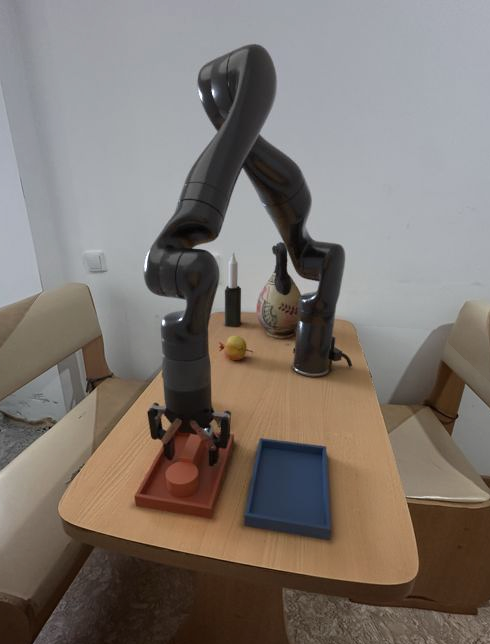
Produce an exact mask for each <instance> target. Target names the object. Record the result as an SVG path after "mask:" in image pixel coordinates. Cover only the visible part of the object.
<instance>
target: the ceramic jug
mask: <svg viewBox="0 0 490 644" xmlns="http://www.w3.org/2000/svg"><path fill="white" fill-rule="evenodd" d="M271 251H272V254H273V255H274V256H275V266H274V271H273V272H272V273H271V276H270V277H269V279H268V280H267V281H266V283H265V284H264V286H263V288H262V290H261V291H260V294H259V295H258V296H259V297H258V299H257V302H256V309H255V310H256V311H255V312H256V313H255V314H256V318H257V322H258V323H259V324H260V325H261V326H262V328H263V330H265V333H266V334H267V335H268V336H269V337H271V338H276V339H280V340H282V339H286V338H290V337H293V336H294V335H295V334H296V329H297V316H298V303H299V298H300V296H301V295H302V293H301V291H300V290H299V287H298V286H297V284H296V282H295V281H294V280H293V277H292V276H291V275H290V274H289V272H288V251H287V249H286V246H285V244H284V242H283V241H279V242H278V243H276V245H273V246H272V247H271Z"/></svg>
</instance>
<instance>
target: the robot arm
mask: <svg viewBox="0 0 490 644" xmlns="http://www.w3.org/2000/svg"><path fill="white" fill-rule="evenodd" d="M277 77H278V76H277V70H276V66H275V64H274V61H273V58H272V57H271V54H270V53H269V51H268V50H267V49H266V48H265V47H264V46H262V45H261V44H257V43H251V44H246V45H245V44H244V45H243V46H240V47H238V48H236V49H234V50H231V51H229V52H227V53H224V54H223V55H220V56H218V57H216V58H214V59H212V60H210V61H208V62H206V63H205V64H203V65H202V67H201V68H200V69H199V71H198V74H197V80H196V81H197V83H196V84H197V93H198V97H199V100H200V103H201V106H202V108H203V111H204V113H205V115H206V116H207V118H208V120H209V121H210V123H211V125H212V126H213V128H214V129H215V130H216V133H215V134H214V136H213V138H212V139H211V140H210V141H209V143H208V144H207V145H206V146H205V148H204V149H203V150H202V152H201V153H200V154H199V156H198V157H197V159H195V161H194V163H193V165H192V166H191V167H190V170H189V171H188V173H187V174H186V177H185V180H184V183H183V186H182V188H181V191H180V195H179V197H178V200H177V203H176V207H175V210H174V213H173V215H171V217H170V219H169V220H168V221H167V222H166V224H165V225H164V226H163V228H162V230H161V232H160V233H159V234H158V235H157V237H156V239H155V240H154V241H153V243H152V245H151V246H150V248H149V249H148V252H147V254H146V257H145V259H144V263H143V273H142V274H143V279H144V283H145V286H146V288H147V289H148V291H150V293H152V294H153V295H155V296H158V297H164V298H169V299H170V298H171V299H177V300H184V301H185V302H186V305H185V309H184V310H176V311H172V312H168V313H167V314H166V315H164V316H163V317H162V319H161V321H160V338H161V339H160V340H161V350H162V351H161V352H162V360H161V362H162V363H161V377H162V378H161V379H162V383H163V384H162V385H163V396H164V404H165V405H160V403H158V402H153V403H152V405H150V407H149V409H148V410H147V413H146V414H147V421H148V426H149V432H150V438H151V439H152V440H154V441H156V440H159V441H160V442H161V443H162V446H163V449H164V455H165V457H167V460H170V461H172V459H173V457H174V455H175V445H174V437H172V436H173V435H174V433H175V432H176V431H177V430H178V431H179V433H190V434H194V435H197V434H198V435H199V437H200V438H201V440H202V441H203V442H204V441H205V442H206V444H207V445H208V447H209V466H214V464H216V463H217V461H218V458H219V448H222V449H226V448H227V445H228V442H229V439H230V434H231V425H232V424H231V423H232V412H231V411H230V410H225V411H223V412H218V411H215V410H214V408H213V406H212V405H213V403H212V364H211V358H210V348H209V347H210V346H209V344H210V343H209V325H210V319H211V314H212V310H213V306H214V303H215V298H216V294H217V292H218V287H219V283H220V277H221V275H220V266H219V263H218V260H217V259H216V257H215V255H214V254H213V253H212V252H210V251H209V250H206V249H203V248H195V247H197V246H199V245H203V244H208V243H212V242H214V241H215V240H217V239H218V238H219V236H220V234H221V231H222V229H223V225H224V222H225V219H226V216H227V212H228V209H229V205H230V203H231V200H232V199H231V198H232V196H233V193H234V190H235V187H236V185H237V182H238V179H239V177H240V174H241V171H244V174H245V175H246V177H247V179H248V180H249V181H250V183H251V185H252V187H253V189H254V190H255V192H256V194H257V196H258V198H259V200H260V203H261V204H262V206H263V207H264V210H265V211H266V213H267V215H268V216H269V218H270V219H271V222H272V223H273V224H274V226H275V228H276V230H277V232H278V234H279V236H280V238H281V240H282V243H284V244H285V246H286V249H287V255H288V256H289V259H290V261H291V263H292V266H293V268H294V271H296V274H297V275H298V276H299V277H301V278H302V279H305V280H309V281H315V282H318V286H317V290H316V291H315V290H314V291H309V292H305V293H303V294H301V296H300V298H299V303H298V316H297V329H296V330H295V341H294V348H293V350H292V351H293V352H292V354H293V364H292V369H293V370H294V372H296V373H297V374H299V375H302V376H304V377H310V378H311V377H312V378H316V377H317V378H318V377H323V376H325V375H327V374H328V373H329V372H330V371H331V372H332V369H333V368H332V367H333V362H339V361H342V358H343V359H345V361H346V363H347V366H348V367H350V368H351V367H353V362H352V360H351V359H350V357H349V356H348V355H347V354H346V353H343V350H341V349H339V348H337V347H335V345H336V336H334V328H335V318H336V313H337V312H336V311H337V304H338V301H339V298H340V294H341V288H342V283H343V279H344V272H345V265H346V251H345V248H344V246H343V245H342V244H340V243H336V242H328V241H319V240H315V239H313V238H312V236H311V235H310V233H309V231H308V228H307V222H308V220H309V217H310V213H311V211H312V204H313V197H312V193H311V189H310V187H309V185H308V182H307V181H306V178H305V175H304V173H303V171H302V169H301V167H300V166H299V165H298V164H297V163H296V162H295V161H294V160H293V158H291V157H290V156H289V155H287V154H286V153H285V152H283V151H282V150H280V149H279V148H277V147H276V146H275V145H273V144H272V143H271V142H269V141H268V140H267V139H265V137H264V136H262V134H261V132H262V129H263V127H264V125H265V124H266V121H267V120H268V117H269V115H270V114H271V111H272V109H273V106H274V104H275V100H276V96H277V91H278V78H277ZM163 416H164V417H165V418H166V419H167V421H168V422H169V423H170V425H169V426H168V428H167V429H163V428H164V427H163V422H162V417H163ZM213 421H215V422H216V425H217V427H218V428H219V430H220V431H219V432H220V437H218V435H217V434H216V432H217V431H216V430H215V427H214V425H213V424H212V422H213Z"/></svg>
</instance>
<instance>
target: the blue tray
mask: <svg viewBox="0 0 490 644" xmlns="http://www.w3.org/2000/svg"><path fill="white" fill-rule="evenodd" d="M327 453H328V452H327V446H325V445H317V444H309V443H301V442H294V441H293V442H292V441H287V440H279V439H270V438H261V437H259V440H258V445H257V451H256V455H255V460H254V465H253V470H252V474H251V480H250V485H249V491H248V496H247V500H246V504H245V510H244V515H243V516H244V517H243V520H244V522H243V525H244V526H246V527H251V528H252V527H253V528H257V529H263V530H268V531H269V530H270V531H274V532H279V533H287V534H293V535H299V536H303V537H309V538H314V539H315V538H316V539H320V540H321V539H322V540H326V541H330V539H331V531H332V522H331V506H330V489H329V472H328V455H327Z"/></svg>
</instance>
